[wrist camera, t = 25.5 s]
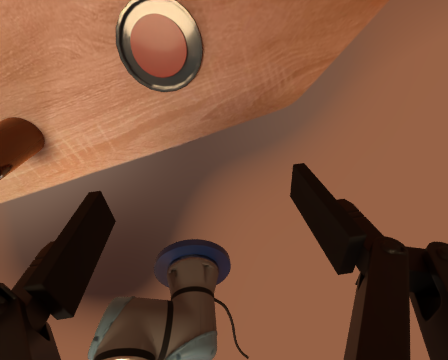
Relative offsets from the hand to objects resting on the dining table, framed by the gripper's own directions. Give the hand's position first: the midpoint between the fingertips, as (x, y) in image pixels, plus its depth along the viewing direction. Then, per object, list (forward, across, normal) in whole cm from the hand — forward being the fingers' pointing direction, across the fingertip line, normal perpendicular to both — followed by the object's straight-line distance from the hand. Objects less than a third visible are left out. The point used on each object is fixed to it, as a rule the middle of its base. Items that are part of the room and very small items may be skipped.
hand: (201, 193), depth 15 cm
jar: (+26, -30, -2) cm, 40 cm away
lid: (+24, -4, +8) cm, 26 cm away
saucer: (+26, -4, +8) cm, 28 cm away
